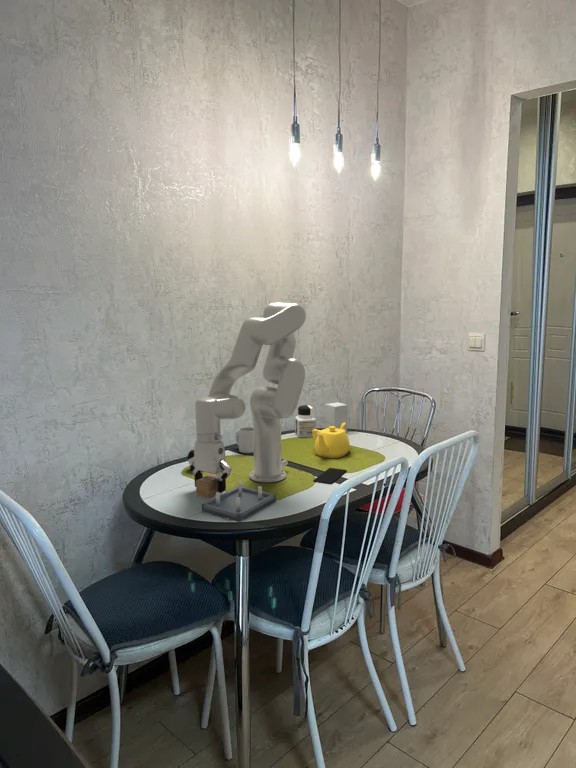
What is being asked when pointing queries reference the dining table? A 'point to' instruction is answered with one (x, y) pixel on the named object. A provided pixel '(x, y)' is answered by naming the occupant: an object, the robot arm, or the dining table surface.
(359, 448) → the dining table surface
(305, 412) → the container
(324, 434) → the teapot
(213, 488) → the labeled cardboard box
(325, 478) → the smartphone
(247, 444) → the cup
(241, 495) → the tray
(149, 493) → the dining table surface
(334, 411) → the supplement box
